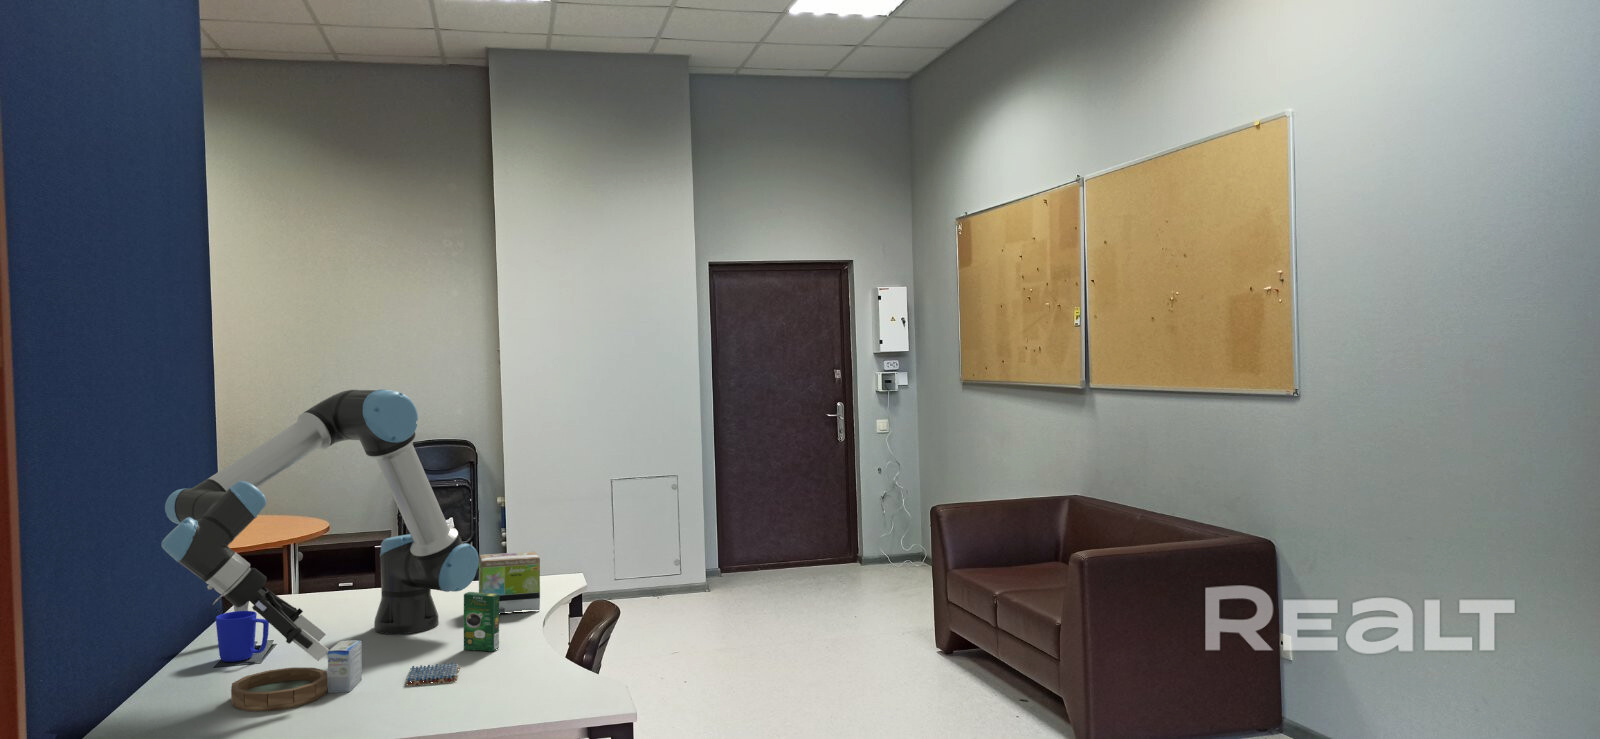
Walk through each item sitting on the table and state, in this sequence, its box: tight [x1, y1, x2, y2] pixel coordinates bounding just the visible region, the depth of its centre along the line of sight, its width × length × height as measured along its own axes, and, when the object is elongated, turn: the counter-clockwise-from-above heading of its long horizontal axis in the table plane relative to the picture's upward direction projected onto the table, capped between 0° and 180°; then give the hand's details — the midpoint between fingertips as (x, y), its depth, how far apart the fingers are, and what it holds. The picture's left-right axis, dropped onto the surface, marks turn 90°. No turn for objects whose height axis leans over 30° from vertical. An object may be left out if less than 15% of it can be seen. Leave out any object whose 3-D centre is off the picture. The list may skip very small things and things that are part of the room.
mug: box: [215, 610, 270, 663], centre depth 243 cm, size 8×12×10 cm
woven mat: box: [405, 662, 461, 687], centre depth 227 cm, size 10×11×2 cm
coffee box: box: [463, 591, 500, 652], centre depth 248 cm, size 8×3×13 cm, turn 77°
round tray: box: [230, 667, 328, 712], centre depth 215 cm, size 17×17×3 cm
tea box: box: [478, 551, 541, 613], centre depth 287 cm, size 15×10×15 cm, turn 111°
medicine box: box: [327, 639, 363, 694], centre depth 222 cm, size 8×4×9 cm, turn 5°
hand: (322, 647), depth 219 cm, fingers open, 13 cm apart
